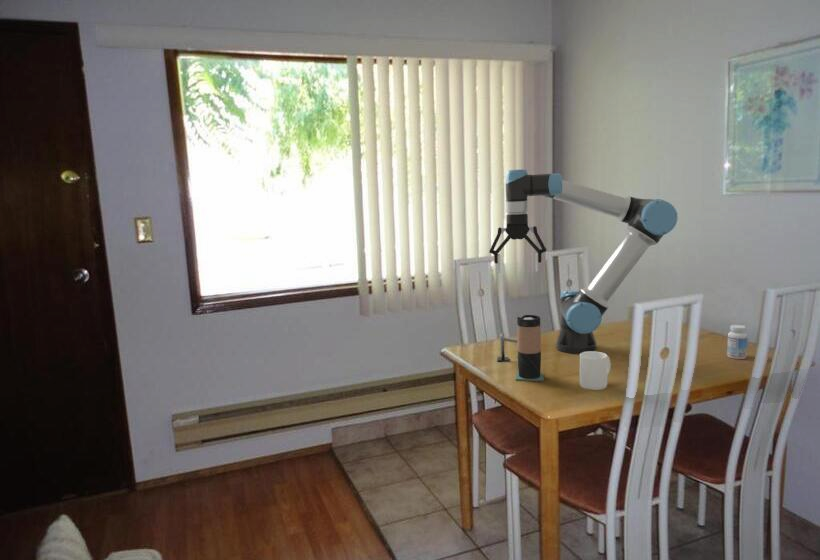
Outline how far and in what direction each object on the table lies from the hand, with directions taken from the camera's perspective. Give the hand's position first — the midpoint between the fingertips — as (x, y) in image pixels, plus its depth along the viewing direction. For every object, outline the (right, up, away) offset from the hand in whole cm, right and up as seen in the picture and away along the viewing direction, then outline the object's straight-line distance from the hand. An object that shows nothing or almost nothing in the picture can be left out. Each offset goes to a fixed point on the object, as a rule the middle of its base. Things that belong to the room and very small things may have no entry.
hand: (517, 272), depth 203 cm
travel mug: (+1, -35, -16) cm, 39 cm away
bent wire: (-2, -34, -2) cm, 34 cm away
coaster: (+1, -36, -16) cm, 39 cm away
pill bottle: (+77, -31, -5) cm, 83 cm away
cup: (+20, -36, -26) cm, 49 cm away
